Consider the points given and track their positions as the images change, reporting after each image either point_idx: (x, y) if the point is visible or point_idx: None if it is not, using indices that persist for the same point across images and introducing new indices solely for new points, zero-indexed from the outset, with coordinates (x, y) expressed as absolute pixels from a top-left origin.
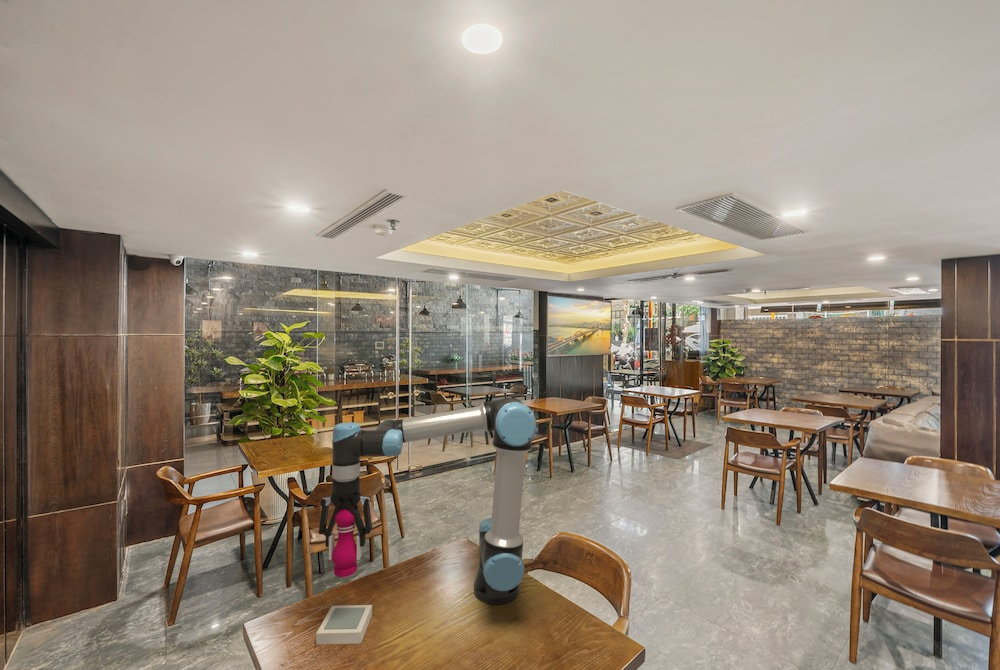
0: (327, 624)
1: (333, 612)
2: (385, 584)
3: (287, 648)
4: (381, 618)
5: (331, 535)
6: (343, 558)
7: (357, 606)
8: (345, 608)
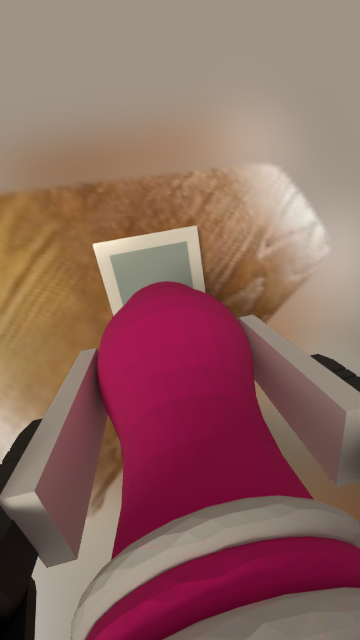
0: (185, 257)
1: None
2: None
3: (244, 207)
4: (96, 324)
5: (356, 439)
6: (150, 302)
7: None
8: None
